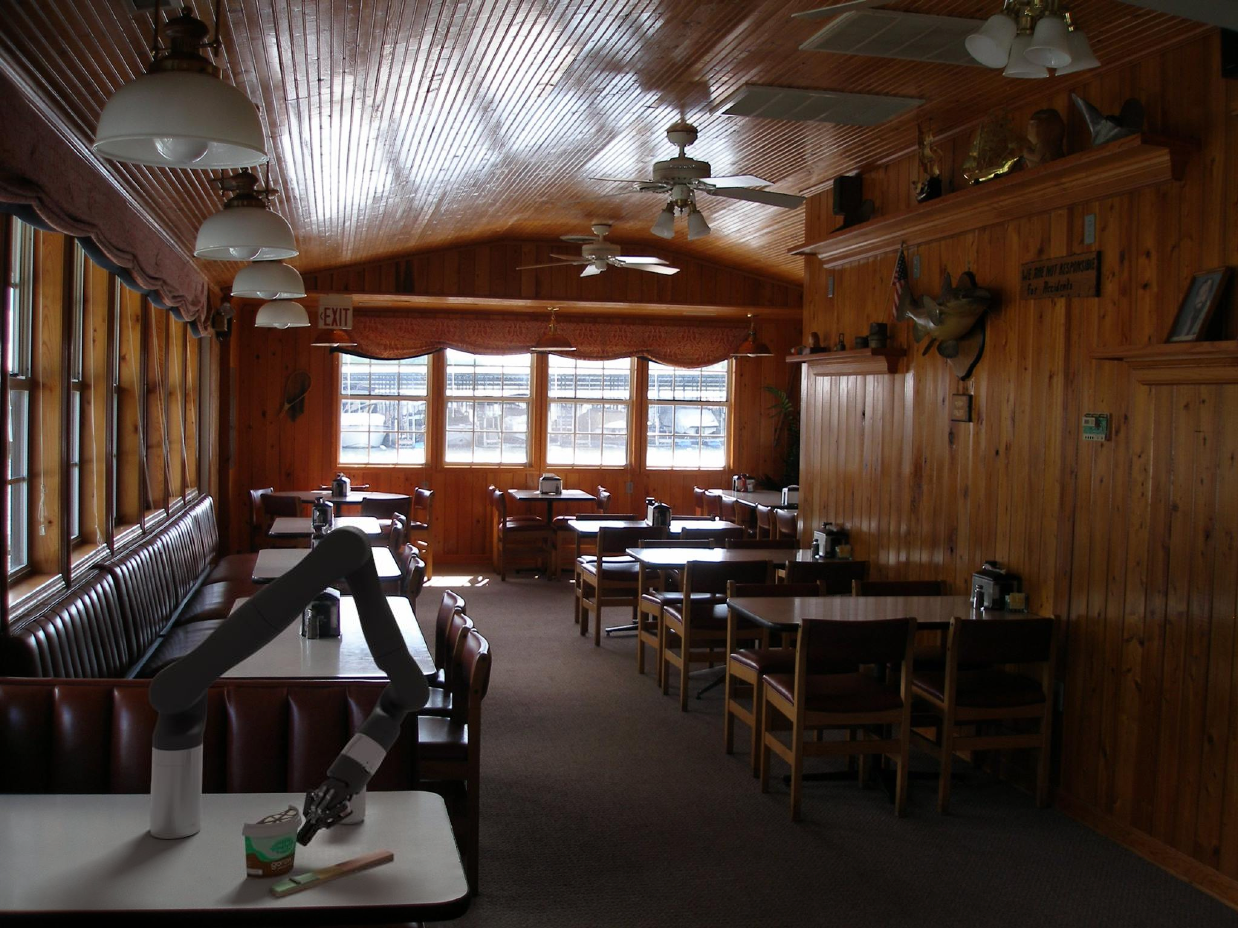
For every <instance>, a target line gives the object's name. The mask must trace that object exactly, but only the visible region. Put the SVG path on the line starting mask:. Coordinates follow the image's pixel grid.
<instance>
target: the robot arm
mask: <svg viewBox="0 0 1238 928" xmlns="http://www.w3.org/2000/svg"><path fill="white" fill-rule="evenodd" d="M342 579H343V580H344V581H345V583H346V585H347V587H348V589H349V591H350V594H351V596H352V599H353V601H354V602H353V603H354V605H355V608H356V612H357V616H358V620H359V623H360V624H359V625H360V629H361V631H362V634H363V636H364V640H365V642H366V645H367V647H368V650H369V652H370V655H371V657H372V659H373V662H374V665H375V666H376V667H377V668H378V670H380V671H381V672H384V673H385V675H386V676H387V679H388V681H389V683H388V684H387V685H386V687H384V689H383V690H382V692H381V693H380V696H379V698H378V699H377V701H376V703H375V705H374V707H373V709H372V711H371V714H370V715H369V716H368V718H366V720H365V722H364V723H363V724H362V725H361V727H360V728H359V730H358V731H357V732H356V734H355V735H354V736H353V737H352V738H351V739H350V740H349V741H348V743H347V744H346V745H345V746H344V748H343V750H342V751H341V752H340V753H339V755H338V756H337V757H336V759H335V760H334V761H333V763H332V764H331V765H330V767H329V768H328V770H327V771H326V774H327V779H326V780H325V781H324V782H322V783H321V784H320V786H319V788H318V789H314V790H313V789H312V788H308V789H307V790H306V793H305V798H304V802H303V808H302V812H301V816H303V817H304V819H305V822H304V823H303V825H301V828H300V829H299V831H297V840H296V844H299V845H300V846H303V847H307V846H308V845H309V844H310V843H311V841H312V839H314V837H315V835H316V834H317V833H318V832H319V831H321V830H322V829H325V830H330V829H331V828H333V827H335V826H336V825H337V824H340V823H339V822H341V821H342V820H344V819H345V818H347V817H349V816H350V815H352V813H353V810H352V809H351V808H350V804H349V803H350V802H351V801H352V798H353V795H358V794H360V793H361V791H362V790H363V788H364V787H365V785H366V786H367V784H368V783H369V781H370V780H371V778H372V777H373V775H375V774H376V771H377V770H378V768H379V767H380V765H382V764H381V763H382V762H383V760H384V758H385V757H386V755H387V753H389V750H390V749H391V748H392V746H393V745H394V744H395V742H396V741H397V739H398V738H399V735H400V734H401V726H400V725H401V724H402V723H403V720H404V719H405V717H406V716H407V714H408V713H410V712H411V713H412V712H418V711H420V710H422V709H424V708H425V707H426V706H427V705H428V702H429V701H430V698H431V697H430V696H431V689H430V686H429V685H430V684H429V682H428V679H427V677H426V675H425V674H424V672H423V670H422V669H421V667H420V665H419V664H418V663H417V661H416V659H415V658H414V657H413V655H412V654H411V653H410V650H409V648H408V645H407V643H406V640H405V638H404V635H403V633H402V630H401V628H400V625H399V624H398V621H397V619H396V617H395V615H394V612H393V610H392V608H391V606H390V604H389V601H388V598H387V597H386V594H385V591H384V588H383V585H382V582H381V579H380V576H379V573H378V569H377V565H376V562H375V557H374V552H373V549H372V543H371V539H370V536H369V535H368V534H367V533H366V531H364V530H363V529H362V528H360V527H358V526H354V525H343V526H339V527H336V528H333V529H332V530H331V531H329V532H328V533H327V534H325V536H324V537H322V539H321V540H320V541H319V542H318V543H317V544H316V545H315V546H314V548H313V549H311V551H310V552H308V554H306V555H305V556H304V557H303V558H302V559H301V560H300V561H299V562H298V563H297V564H296V565H294V566H293V567H292V568H291V569H289V570H288V571H286V572H285V573H283V574H281V576H278V577H277V578H275V579H274V580H272V581H271V582H269V583H268V584H267V585H265V586H263V587H262V588H261V589H260V590H258V591H256V593H254V594H252V596H251V597H249V598H248V599H247V600H246V601H244V602H243V603H241V604H240V606H238V607H237V608H236V609H235V610H234V611H233V612H232V613H230V614H229V615H228V616H227V617H226V618H225V619H224V620H223V621H222V622H221V623H220V624H219V625H218V626H217V627H216V628H215V629H214V630H213V631H212V632H211V633H210V634H209V635H208V636H207V638H205V639H204V640H203V642H200V644H199V645H198V646H196V647H195V648H194V649H193V650H191V651H190V652H189V653H187V654H186V655H184V656H182V657H181V658H179V660H177V661H174V662H172V663H171V664H169V665H168V666H166V667H164V668H162V669H161V670H160V671H159V672H158V673H156V675H155V676H154V677H153V679H152V680H151V682H150V685H149V688H148V701H149V704H150V705H151V707H152V708H153V709H154V710H155V711H157V712H158V717H157V720H156V725H155V728H154V730H153V732H152V744H151V745H152V748H151V749H152V750H151V753H152V754H151V782H150V806H149V807H150V808H149V809H150V811H149V813H150V814H149V815H150V816H149V829H150V830H149V831H150V833H149V834H150V835H151V836H152V837H154V838H157V839H165V840H169V839H170V840H171V839H181V838H186V837H188V836H192V835H195V834H196V833H198V832H200V830H201V828H202V797H203V796H202V795H203V794H202V791H203V790H202V789H203V754H204V753H203V752H204V750H203V749H204V748H203V747H204V746H203V745H204V732H205V729H206V724H207V715H208V714H207V713H208V699H209V698H208V697H209V696H208V695H209V688H210V687H211V686H212V685H213V684H214V683H215V682H217V681H218V679H220V678H221V677H222V676H223V675H225V673H227V672H229V671H230V670H231V669H233V668H234V667H236V666H238V665H239V664H241V663H243V662H244V661H246V660H248V658H250V657H251V656H253V655H254V654H256V653H257V652H259V651H260V650H261V649H263V648H264V647H266V646H267V645H268V644H270V642H272V641H273V640H275V639H276V638H277V637H278V636H279V635H280V634H281V633H283V632H284V631H285V630H286V629H287V628H289V627H290V626H291V625H292V624H293V623H294V622H295V621H296V620H297V619H298V618H299V617H300V616H301V615H302V614H303V613H304V611H306V609H307V608H308V607H309V605H311V604H312V602H313V601H314V600H315V599H316V598H317V597H318V596H319V595H321V594H322V593H323V592H325V591H326V590H327V589H328V588H330V587H331V586H333V585H334V584H336V583H337V582H339V581H340V580H342Z"/></svg>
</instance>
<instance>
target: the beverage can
mask: <svg viewBox="0 0 1238 928" xmlns="http://www.w3.org/2000/svg"><path fill="white" fill-rule="evenodd" d="M366 802H367V784H366V785H365V787H364V788H363V790H362V791H361V793H360V794H358V795H353V798H352V801H351V802H350V803H349V804H350V808H351V809H352V810H353V813H352V815H350V816H349V817H347V818H345V819H344V820H342V821H341V822H339V823H338V824H341V825H355V824H358V823H361V822H362V821H363V820H364V819H365V818H366V808H367V807H366V805H367V803H366Z"/></svg>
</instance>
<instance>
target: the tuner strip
mask: <svg viewBox="0 0 1238 928" xmlns="http://www.w3.org/2000/svg"><path fill="white" fill-rule="evenodd" d="M394 856H395V853H394V852H392V851H389V850H387V849H386V848H382V849H381V850H377V851H374V852H371V853H370V852H369V853H368V854H365V855H361V856H358V857H355V858H351V859H348V860H346V861H343V862H340V863H336V864H333V865H330V866H327V867H324V868H320V869H317V870H315V871H311V872H309V873H305V874H302V875H299V876H295V877H293V876H289V877H288V879H285V880H284V881H280V882H277V883H274V884H270V885H269V887H268V890H269V891H268V893H270V894H272V895H274V896H276V897H278V898H281V897H283V896H287V895H290V894H292V893H293V894H294V893H297V892H299V891H302V890H305V889H308V888H311V887H313V886H317V885H320V884H323V883H326V882H329V881H333V880H335V879H339V878H341V877H343V876H347V875H350V874H354V873H357V872H360V871H363V870H365V869H368V868H372V867H375V866H378V865H381V864H383V863H387V862H389V861H393V860H394V858H395V857H394ZM392 859H393V860H392ZM386 861H387V862H386ZM377 864H378V865H377ZM304 888H305V889H304Z"/></svg>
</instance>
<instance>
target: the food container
mask: <svg viewBox="0 0 1238 928" xmlns="http://www.w3.org/2000/svg"><path fill="white" fill-rule="evenodd" d="M287 808H288V809H286V810H284V811H283V812H279V813H277V814H271V815H268V816H266V817H264V818H263V819H261V820H260V821H258V822H256V823H247V822H244V825H243V827H242V832H241V836H243V837H244V847H245V850H244V851H245V868H246V869H245V870H246V878H250V879H259V880H260V879H262V880H264V879H271V878H277V877H281V876H284V875H286V873H287V874H289V873H290V872H291V871H292V870H293V869H294V866H295V865H294V864H295V858H296V850H297V849H296V846H297V842H296V840H297V833H298V832H299V831H298V828H300V827H302V824H303V819H302V813H301V812H300V810H299V808H298V807H297V806H295V805H293V804H288V807H287Z"/></svg>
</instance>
